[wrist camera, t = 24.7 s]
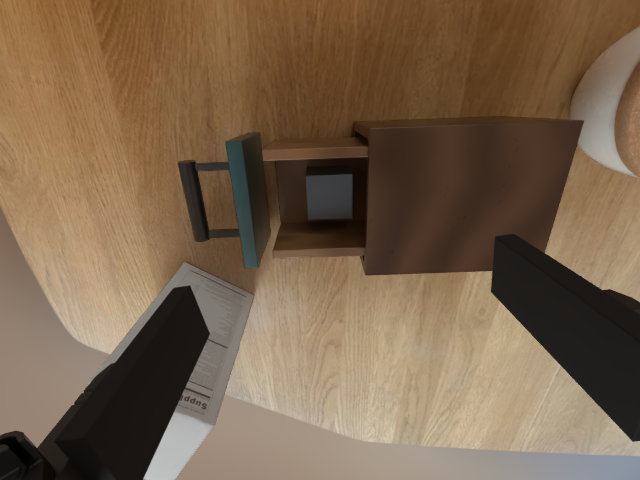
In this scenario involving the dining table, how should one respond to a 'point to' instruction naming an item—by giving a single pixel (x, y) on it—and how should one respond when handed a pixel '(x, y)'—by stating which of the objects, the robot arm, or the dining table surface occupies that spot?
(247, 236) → the drawer
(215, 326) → the supplement box
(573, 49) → the dining table surface
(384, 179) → the cabinet
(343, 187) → the block
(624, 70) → the lidded bowl
